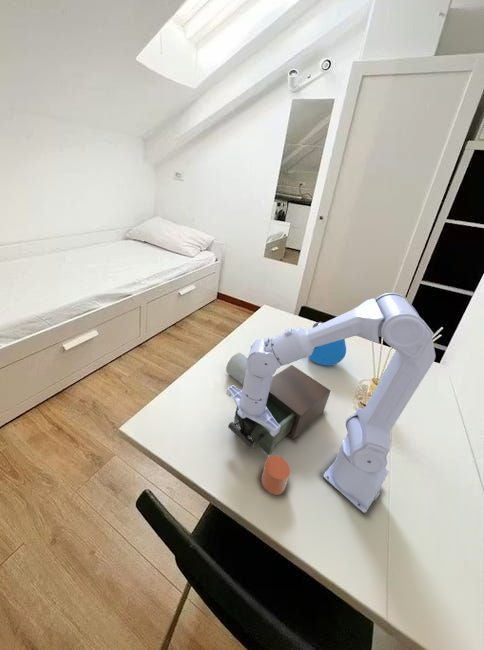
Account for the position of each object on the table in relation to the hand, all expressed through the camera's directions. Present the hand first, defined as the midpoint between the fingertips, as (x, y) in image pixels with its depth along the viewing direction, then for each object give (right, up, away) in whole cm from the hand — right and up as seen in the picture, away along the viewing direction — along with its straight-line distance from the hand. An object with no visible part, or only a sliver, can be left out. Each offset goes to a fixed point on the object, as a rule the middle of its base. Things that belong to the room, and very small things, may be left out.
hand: (246, 434), depth 69 cm
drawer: (+5, -1, +5) cm, 7 cm away
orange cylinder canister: (+5, -7, -6) cm, 11 cm away
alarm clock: (+31, +8, +36) cm, 48 cm away
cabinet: (+14, 0, +13) cm, 19 cm away
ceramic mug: (+2, +6, +24) cm, 25 cm away
